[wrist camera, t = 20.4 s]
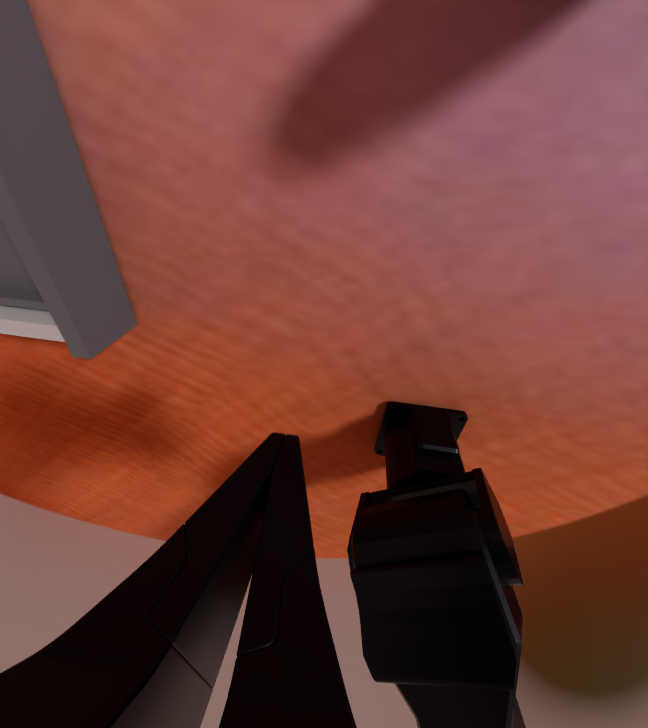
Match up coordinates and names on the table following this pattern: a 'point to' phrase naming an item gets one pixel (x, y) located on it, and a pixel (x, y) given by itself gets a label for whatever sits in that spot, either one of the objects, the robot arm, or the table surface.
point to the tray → (50, 203)
